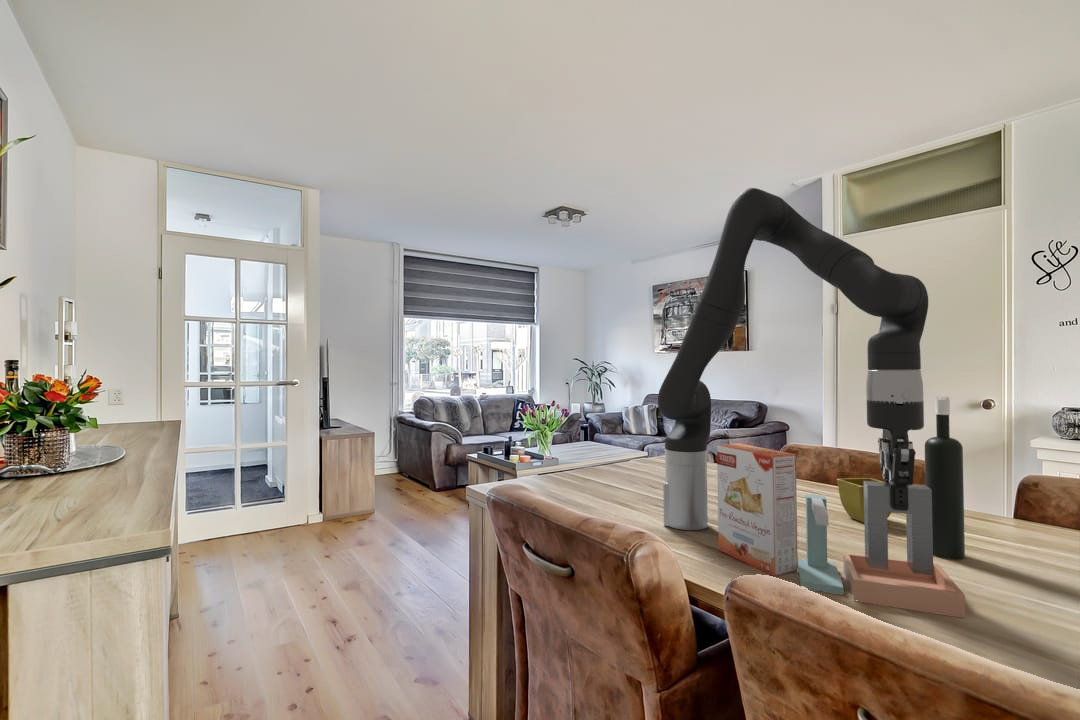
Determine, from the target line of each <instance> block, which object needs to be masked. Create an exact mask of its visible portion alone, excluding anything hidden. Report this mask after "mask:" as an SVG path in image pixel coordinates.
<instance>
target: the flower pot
mask: <svg viewBox="0 0 1080 720" xmlns="http://www.w3.org/2000/svg"><path fill="white" fill-rule="evenodd" d="M836 481H837V488H838V493H839V498H840V502H841V505H842V506H843V509H844V511H845V512H846V513H847V515H848V516H849V518H850V519H853V520H856V521H859V522H861V523H864V481H874V482H883V481H882V480H879V479H875V478H871V477H857V478H855V477H854V478H851V477H850V478H836ZM891 514H892V513H891V512H887V519H888V518H889V517H890V515H891Z"/></svg>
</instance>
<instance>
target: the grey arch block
mask: <svg viewBox="0 0 1080 720" xmlns="http://www.w3.org/2000/svg"><path fill="white" fill-rule="evenodd" d="M887 512H891V514H892V513H893V514H901V515H902V514H903V515H905V516H906V518H905V519H906V523H905V524H906V560H907V565H908V567H909V568H910V569H911V571H912V572H913V573H917V574H925V575H933V576H934V574H933V563H934V555H933V528H932V490H931V489H930V488H929V487H927V486H926V485H925V484H917V483H916V484H915V483H913V484H912V485H910V486H909V487H908V510H907V511H901V510H894V509H892V508H891V499H890V483H888V482H885V481H882V482H874V481H864V555H865V560H866V562H867V564H868V566H869V567H870V568H878V569H886V570H888V558H889V535H888V534H889V532H888V530H889V529H888V525H889V524H888V518H887Z"/></svg>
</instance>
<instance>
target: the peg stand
mask: <svg viewBox="0 0 1080 720" xmlns="http://www.w3.org/2000/svg"><path fill="white" fill-rule="evenodd" d="M827 507H828V506H827V498H826V495H825V494H814V493H805V520H806V525H805V526H806V528H805V530H806V532H805V533H806V534H805V536H806V537H805V538H806V559H805V558H804V559H803V558H798V571H797V572H798V577H799V585H801V586H804V587H806V588H808V589H811V590H810V591H812V590H813V591H814V592H819V591H823V592H822V593H826V592H828V594H832V595H833V594H834V595H839V594H840V596H845V595H844V593H845V591H844V584H843V582H842V579H841V575H840V573H839V570H838V567H837V564H836V563H835V562H829V561H828V527H829V514H828V512H827V511H828V510H827ZM801 586H800V587H801ZM824 591H826V592H824Z"/></svg>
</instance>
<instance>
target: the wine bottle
mask: <svg viewBox="0 0 1080 720" xmlns="http://www.w3.org/2000/svg"><path fill="white" fill-rule="evenodd" d="M934 400H935V403H934V404H935V405H934V406H935V408H934V409H935V416H936V418H935V419H936V420H935V421H936V422H935V424H936V436H933V437H929V438H928V439H927V440H926V441H925V443H924V481H925V482H924V483H925V484H924V485H926V486H927V487H929V488H930V489H931V490H932V528H933V557H937V558H941V559H947V560H956V561H957V560H958V561H960V560H964V559H965V557H966V552H965V548H966V547H965V499H964V498H965V496H964V493H965V492H964V489H965V488H964V456H963V455H964V452H963V451H964V450H963V445H962V443H961V441H959V440H957V439H955V438H954V437H950V435H951V434H950V414H951V410H950V409H951V407H950V397H949V396H935V399H934Z"/></svg>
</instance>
